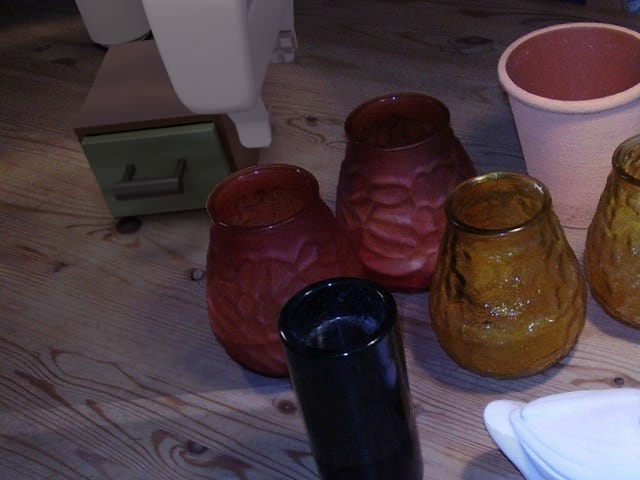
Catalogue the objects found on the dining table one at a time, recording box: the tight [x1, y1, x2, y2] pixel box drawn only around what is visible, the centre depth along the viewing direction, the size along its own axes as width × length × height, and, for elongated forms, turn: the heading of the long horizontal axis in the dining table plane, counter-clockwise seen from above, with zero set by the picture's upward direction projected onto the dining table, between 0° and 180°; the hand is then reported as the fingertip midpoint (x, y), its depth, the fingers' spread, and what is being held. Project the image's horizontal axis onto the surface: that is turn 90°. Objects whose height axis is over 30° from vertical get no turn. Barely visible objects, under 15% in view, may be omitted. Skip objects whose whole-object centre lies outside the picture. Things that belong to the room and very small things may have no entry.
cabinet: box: [72, 39, 261, 219], centre depth 93 cm, size 15×13×10 cm
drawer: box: [80, 121, 232, 219], centre depth 90 cm, size 18×11×8 cm, turn 2°
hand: (272, 97), depth 61 cm, fingers open, 8 cm apart
